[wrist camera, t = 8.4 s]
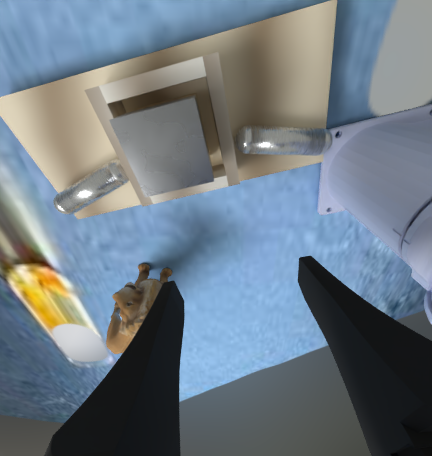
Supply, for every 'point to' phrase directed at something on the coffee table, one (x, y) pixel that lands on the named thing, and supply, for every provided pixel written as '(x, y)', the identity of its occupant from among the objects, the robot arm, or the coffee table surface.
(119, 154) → the shaft board
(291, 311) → the coffee table surface
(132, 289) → the lion figurine
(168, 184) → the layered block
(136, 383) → the robot arm
